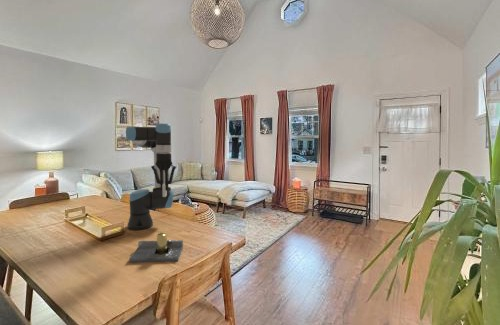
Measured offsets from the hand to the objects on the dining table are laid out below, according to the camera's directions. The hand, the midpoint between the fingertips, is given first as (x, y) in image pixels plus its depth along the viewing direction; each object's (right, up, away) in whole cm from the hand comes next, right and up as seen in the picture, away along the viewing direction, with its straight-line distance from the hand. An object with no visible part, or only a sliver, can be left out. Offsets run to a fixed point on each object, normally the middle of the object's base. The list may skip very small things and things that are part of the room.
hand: (164, 196), depth 139 cm
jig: (+1, -27, -13) cm, 30 cm away
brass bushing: (+3, -27, -12) cm, 30 cm away
